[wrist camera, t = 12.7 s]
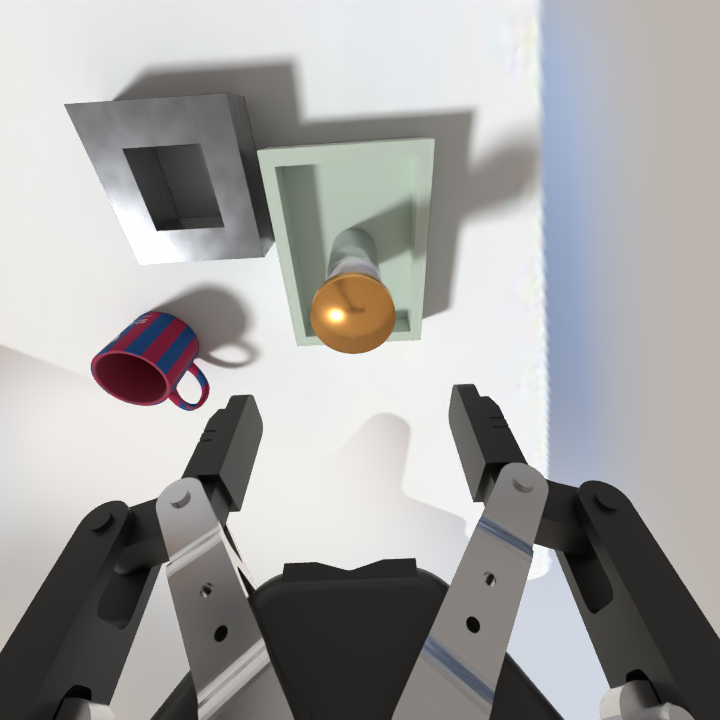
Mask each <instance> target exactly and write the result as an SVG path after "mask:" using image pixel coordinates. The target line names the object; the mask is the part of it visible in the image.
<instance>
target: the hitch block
mask: <svg viewBox="0 0 720 720" xmlns="http://www.w3.org/2000/svg"><path fill="white" fill-rule="evenodd" d="M64 106H65V108H66V110H67V112H68V114H69V116H70V118H71V120H72V122H73V124H74V127H75V129H76V131H77V133H78V135H79V137H80V139H81V141H82V143H83V145H84V148H85V150H86V152H87V154H88V156H89V158H90V160H91V162H92V164H93V166H94V169H95V171H96V173H97V175H98V177H99V179H100V181H101V183H102V185H103V187H104V190H105V192H106V194H107V196H108V198H109V200H110V202H111V204H112V206H113V209H114V211H115V213H116V215H117V217H118V219H119V221H120V223H121V225H122V227H123V230H124V232H125V234H126V236H127V238H128V240H129V242H130V244H131V246H132V248H133V251H134V253H135V255H136V257H137V259H138V261H139V263H140V264H154V263H171V262H189V261H206V260H223V259H241V258H258V257H265V255H266V254H267V252H268V251H269V249H270V248H271V246H272V245H273V243H274V238H273V233H272V228H271V223H270V219H269V214H268V209H267V204H266V200H265V195H264V190H263V185H262V180H261V176H260V171H259V166H258V161H257V157H256V152H255V147H254V142H253V137H252V133H251V128H250V123H249V118H248V114H247V109H246V104H245V99H244V97H241V96H237V95H232V94H227V93H219V94H205V95H191V96H176V97H162V98H147V99H133V100H118V101H104V102H90V103H75V104H64ZM185 144H201V147H202V151H203V154H204V158H205V161H206V165H207V168H208V171H209V175H210V178H211V182H212V185H213V188H214V192H215V195H216V199H217V202H218V206H219V209H220V212H221V216H210V217H194V218H180V217H179V214H178V212H177V209H176V206H175V204H174V201H173V198H172V195H171V193H170V190H169V187H168V184H167V182H166V179H165V176H164V174H163V171H162V168H161V165H160V163H159V160H158V157H157V154H156V152H155V149H154V147H155V146H170V145H185Z"/></svg>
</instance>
